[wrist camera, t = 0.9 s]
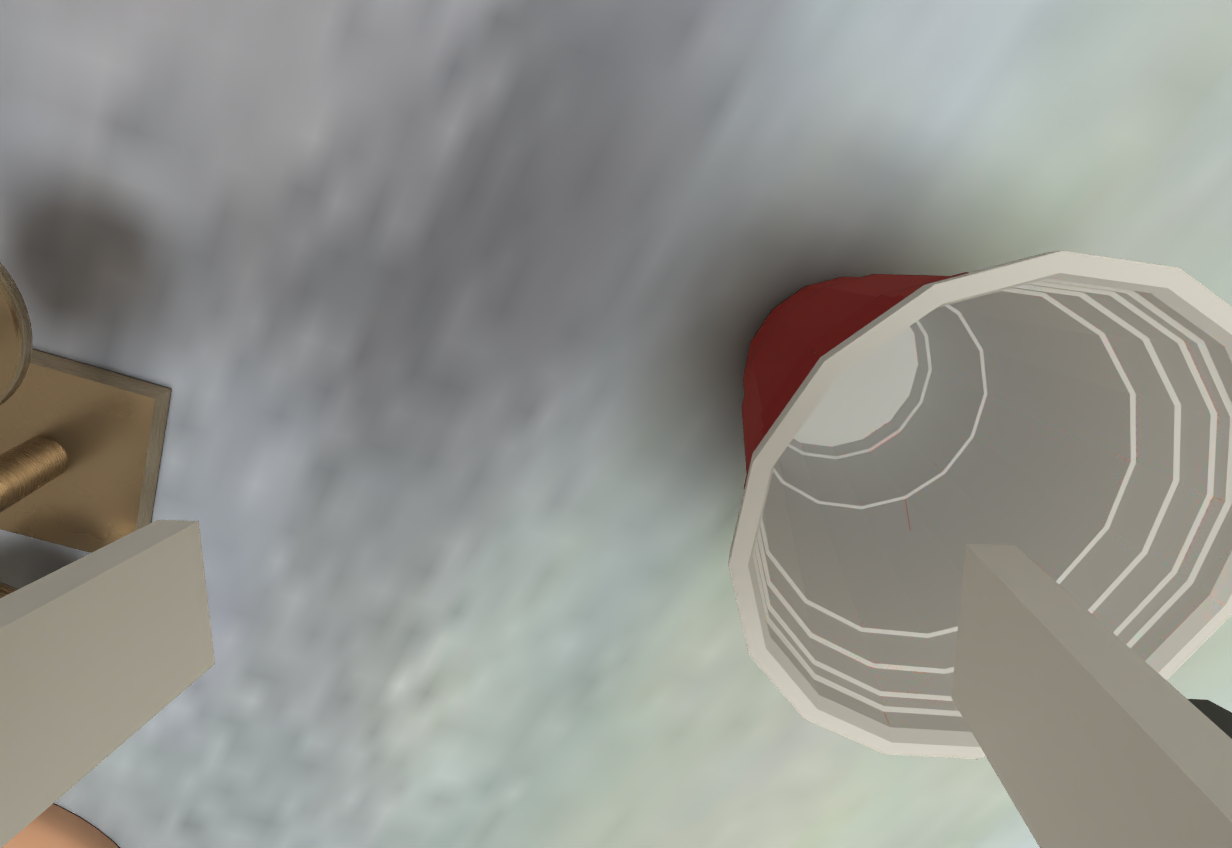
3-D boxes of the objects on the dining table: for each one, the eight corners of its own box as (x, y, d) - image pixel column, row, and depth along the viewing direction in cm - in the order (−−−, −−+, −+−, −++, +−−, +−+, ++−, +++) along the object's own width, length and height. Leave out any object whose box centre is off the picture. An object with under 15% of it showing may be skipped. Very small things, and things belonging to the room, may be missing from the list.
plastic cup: (828, 578, 28) (981, 867, 17) (601, 385, 26) (607, 576, 15) (1072, 358, 26) (1440, 527, 15) (849, 119, 23) (1087, 100, 12)
